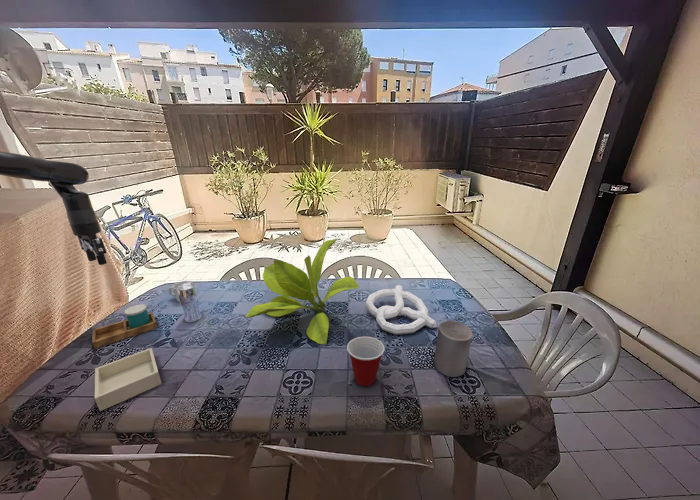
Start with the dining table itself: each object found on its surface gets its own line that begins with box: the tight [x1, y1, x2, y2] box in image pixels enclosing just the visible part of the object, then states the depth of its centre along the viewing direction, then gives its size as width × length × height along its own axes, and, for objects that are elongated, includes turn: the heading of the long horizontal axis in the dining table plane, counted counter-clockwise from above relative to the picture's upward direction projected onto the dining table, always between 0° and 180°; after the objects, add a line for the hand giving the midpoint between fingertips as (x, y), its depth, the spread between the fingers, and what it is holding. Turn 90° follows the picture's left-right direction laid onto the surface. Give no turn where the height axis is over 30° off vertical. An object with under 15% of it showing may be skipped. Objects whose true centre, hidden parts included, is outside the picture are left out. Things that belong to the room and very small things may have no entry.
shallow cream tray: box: [94, 347, 162, 412], centre depth 79 cm, size 14×14×5 cm
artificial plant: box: [245, 238, 360, 345], centre depth 106 cm, size 42×43×30 cm
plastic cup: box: [346, 336, 386, 387], centre depth 79 cm, size 11×11×12 cm
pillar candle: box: [433, 320, 474, 378], centre depth 84 cm, size 10×10×15 cm
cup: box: [167, 280, 192, 303], centre depth 123 cm, size 11×8×8 cm
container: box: [124, 303, 150, 329], centre depth 102 cm, size 6×6×8 cm
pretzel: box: [365, 284, 438, 335], centre depth 112 cm, size 28×24×6 cm
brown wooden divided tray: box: [91, 311, 158, 350], centre depth 101 cm, size 18×9×3 cm, turn 131°
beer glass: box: [177, 281, 203, 323], centre depth 108 cm, size 7×7×15 cm
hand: (97, 262), depth 104 cm, fingers open, 8 cm apart
